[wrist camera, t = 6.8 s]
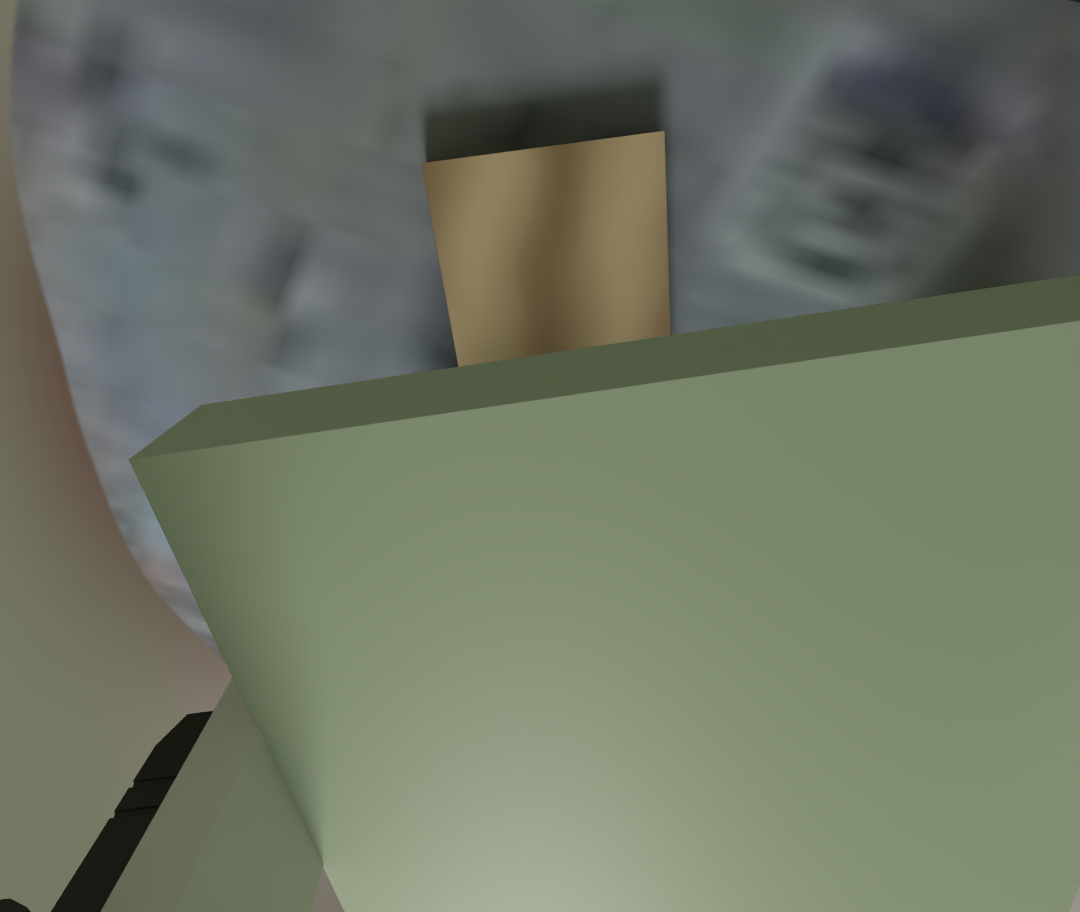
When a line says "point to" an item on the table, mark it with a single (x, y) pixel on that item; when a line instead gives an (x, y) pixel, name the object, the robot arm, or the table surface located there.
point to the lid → (668, 614)
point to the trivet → (553, 246)
